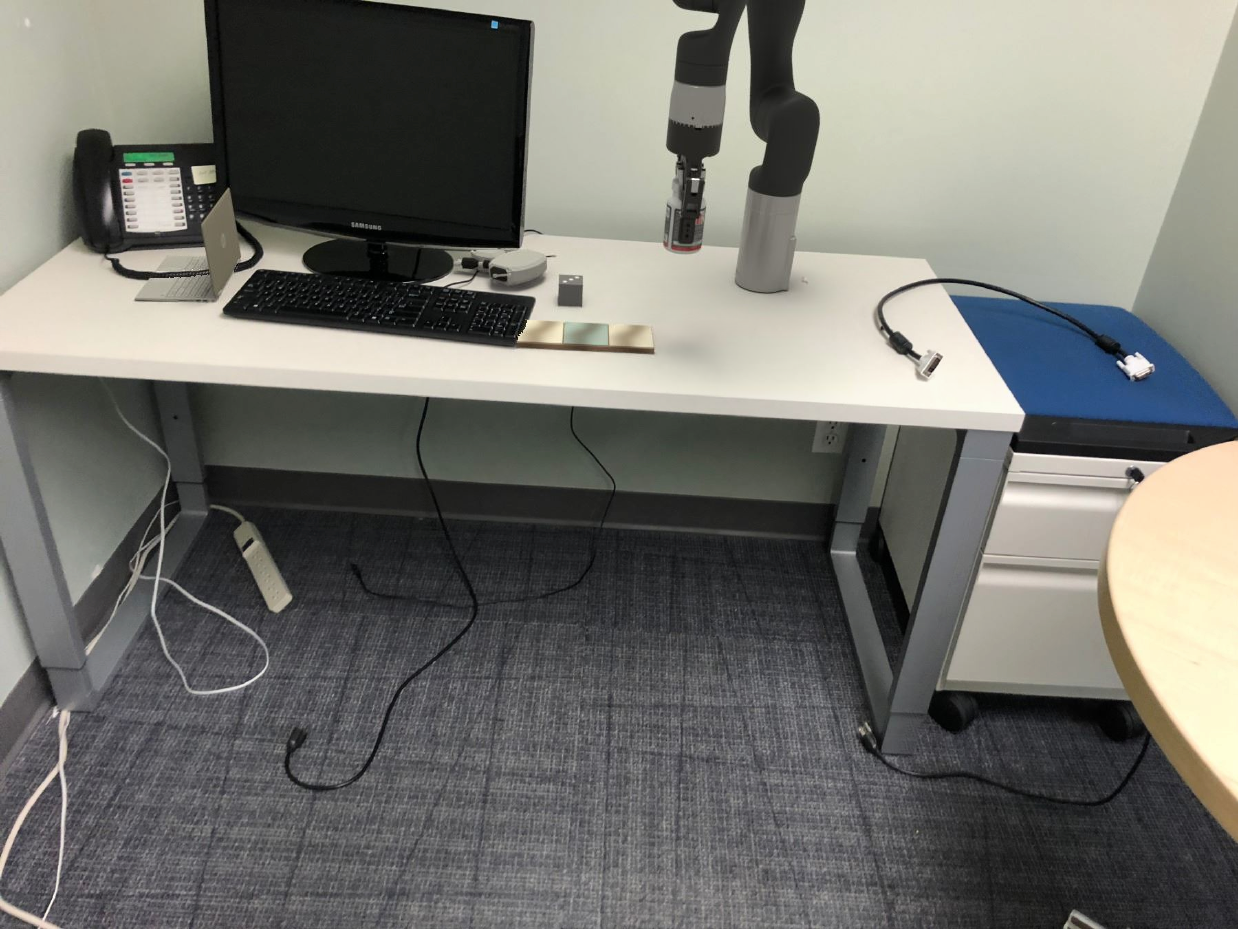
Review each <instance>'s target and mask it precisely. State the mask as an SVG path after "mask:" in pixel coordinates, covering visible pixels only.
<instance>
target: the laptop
mask: <svg viewBox="0 0 1238 929" xmlns="http://www.w3.org/2000/svg"><path fill="white" fill-rule="evenodd" d="M200 229H201V230H200V231H201V234H202V239H203V245H204V251H205V256H204V255H203V256H201V255H199V256H197V255H195V256H194V255H166V257H165V258H164V259H163V261H162V262H161V263H160V264H159V265H158V267H157V268H156V269H155V270H154V272H156V271H183V270H185V271H186V270H187V271H188V270H189V271H190V270H192V269H193V271H196V270H199V269H200V270H201V269H202V270H203V269H209V272H210V274H209V275H208V274H207V275H202V276H201V275H196V276H195V277H194V276H191V277H181V278H180V277H174V278H170V277H169V278H150V277H149V279H148V280H147V281H146V283H144V285H143V286H142V288H141V289H140V290H139V291H138V293H137V294H136V296H135V297H134V300H137V301H158V302H175V303H177V302H181V303H217V302H218V301H219V298H220V296H221V295H222V293H223V292H224V290H226V287H227V285H228V284H229V282H230V280H231V278H232V277H233V275H234V274H235V272H234V268H235V267H236V265H237V264H238V263H239V264H241V261H242V259H241V258H242V253H241V248H240V242H239V235H238V230H237V224H236V218H235V212H234V207H233V201H232V194H231V189H230V187H227V189H226V190H225V192H224V193H223V194H222V195H221V197H220V198H219V200H218V201H217V202H216V203H215V205H214V207H213V208H212V209H211V211H209V213H208V215H207V216H206V217H205V219H204V220H203V221H202V223H201V224H200ZM239 264H238V265H239Z"/></svg>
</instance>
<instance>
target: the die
mask: <svg viewBox="0 0 1238 929" xmlns="http://www.w3.org/2000/svg"><path fill="white" fill-rule="evenodd" d="M583 292H584V275H580V274H578V275H577V274H558V296H557V307H573V308H574V307H575V308H576V307H577V308H582V307H583V294H584V293H583Z"/></svg>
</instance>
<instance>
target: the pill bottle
mask: <svg viewBox="0 0 1238 929" xmlns="http://www.w3.org/2000/svg"><path fill="white" fill-rule="evenodd" d="M671 182H672V183H671V190H672V193H671V194H670V195H668V197H667V201H666V208H665V220H664V228H663V239H662V240H663V242H662V243H663V244H662V245H663V248H664V249H665V250H666V251H668V252H670V253H672V254H677V255H685V256H686V255H693V254H697V253H698V252H700V251H701V250H702V245H703V237H704V236H703V235H704V229H705V228H704V227H705V218H706V213H707V211H706V210H707V201H706V199H705V196H703V197H702V203H701V210H700V213H701V215H700V217H699V219H696V223H695V232H694V240H693V243H692V244H680V243H679V242H678V231H679V222H680V215H679V212H680V201H678V199H677V194H678V180H677V178H675V177H674V178H673V179H672V181H671ZM705 188H706V184H705V185H704V189H703V193H704V192H705ZM682 193H683V194H684V190H683V186H682ZM687 209H692V210H694V204H691V203H689V204H687Z"/></svg>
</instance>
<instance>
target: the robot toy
mask: <svg viewBox="0 0 1238 929" xmlns="http://www.w3.org/2000/svg"><path fill="white" fill-rule="evenodd" d="M555 257H557V255H556V254H550V255H545V253H543V252H540V251H535V250H531V249H526V248H525V249H517V250H512V251H508V252H507V251H506V250H505V251H504V250H475V249H472V250H470V257H466V256H464V257H462V259H461V258H458V259H455V260H454V261H453V266H456V267H460V266H461V269H462V270H474V269H477V271H478V272H481V273H485V274H486V273H489V274H488V275H489V276H490V278H491V279H492V280H493V281H496V282H500V283H501V284H503V285H505V286H507V287H515V286H517V285H518V284H521V283H525V282H529V281H531V280H536V278H539V277H540V276H542V275H543V274H544V273H545V272H546V271H547V270H548V269H547V268H548V261H547V260H548V259H547V258H555Z"/></svg>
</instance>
